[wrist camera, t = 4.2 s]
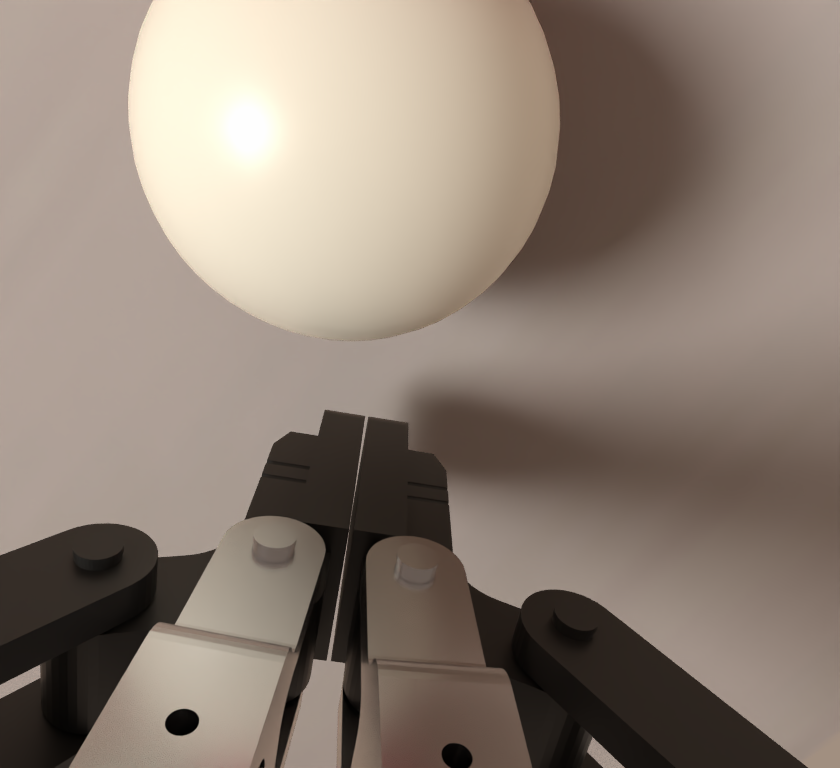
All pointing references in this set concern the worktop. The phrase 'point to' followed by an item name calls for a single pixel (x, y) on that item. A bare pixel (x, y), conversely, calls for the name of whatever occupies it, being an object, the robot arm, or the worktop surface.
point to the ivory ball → (345, 152)
